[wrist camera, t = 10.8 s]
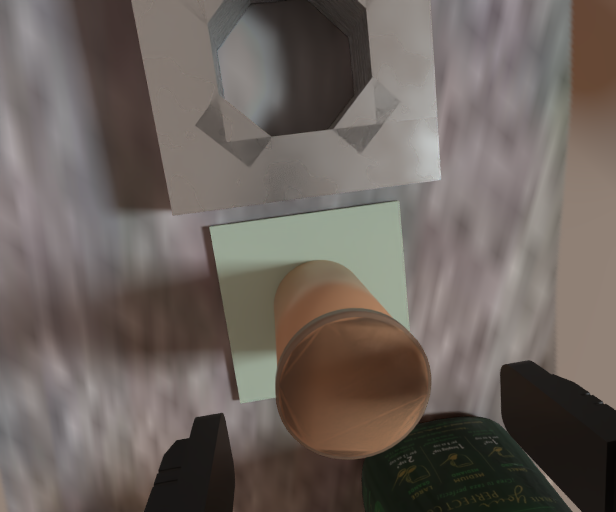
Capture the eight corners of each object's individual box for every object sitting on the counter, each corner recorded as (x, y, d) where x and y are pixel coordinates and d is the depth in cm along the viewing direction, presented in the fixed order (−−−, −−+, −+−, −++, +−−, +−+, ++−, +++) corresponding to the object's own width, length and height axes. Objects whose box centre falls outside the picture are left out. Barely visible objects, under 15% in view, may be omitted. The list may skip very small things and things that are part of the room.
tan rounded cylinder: (264, 266, 21) (263, 329, 13) (361, 250, 22) (424, 301, 13) (280, 357, 23) (288, 472, 14) (371, 340, 23) (437, 443, 14)
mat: (210, 226, 21) (209, 227, 21) (396, 200, 22) (399, 201, 22) (240, 399, 23) (240, 403, 23) (410, 370, 24) (413, 373, 24)
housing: (138, -54, 19) (110, -106, 15) (394, -74, 20) (422, -127, 16) (187, 209, 21) (172, 215, 18) (413, 179, 22) (440, 179, 18)
